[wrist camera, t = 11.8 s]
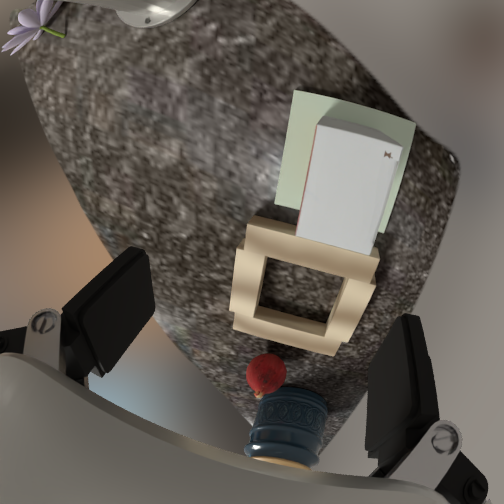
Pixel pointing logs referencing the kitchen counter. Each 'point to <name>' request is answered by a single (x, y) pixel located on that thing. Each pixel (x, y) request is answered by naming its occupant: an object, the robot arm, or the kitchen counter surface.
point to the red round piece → (266, 374)
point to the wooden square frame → (309, 255)
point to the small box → (347, 184)
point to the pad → (302, 135)
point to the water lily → (33, 24)
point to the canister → (288, 428)
